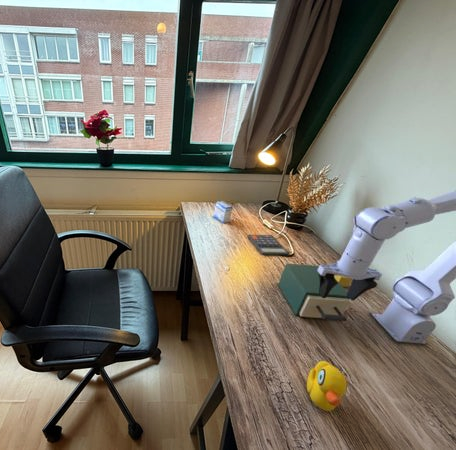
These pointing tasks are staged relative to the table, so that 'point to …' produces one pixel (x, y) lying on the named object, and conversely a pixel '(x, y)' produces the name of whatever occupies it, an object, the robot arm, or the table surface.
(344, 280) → the block
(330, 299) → the drawer
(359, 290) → the robot arm
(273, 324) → the table surface
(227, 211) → the medicine box
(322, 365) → the duckling
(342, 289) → the cabinet
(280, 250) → the calculator
